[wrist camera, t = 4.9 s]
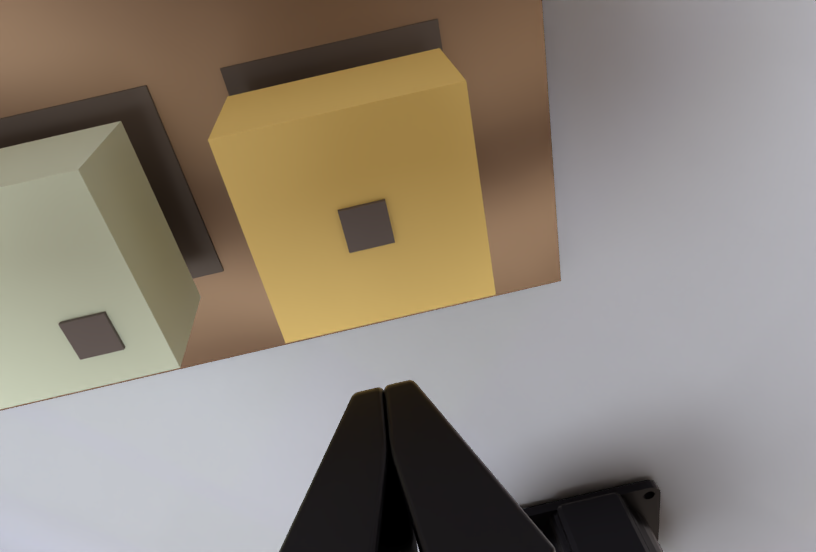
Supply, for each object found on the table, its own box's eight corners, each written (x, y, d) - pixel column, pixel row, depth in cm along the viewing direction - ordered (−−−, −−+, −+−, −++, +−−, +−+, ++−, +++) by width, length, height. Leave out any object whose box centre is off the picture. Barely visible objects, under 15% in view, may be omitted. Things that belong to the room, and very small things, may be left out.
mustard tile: (469, 235, 17) (496, 297, 14) (290, 276, 17) (285, 345, 14) (439, 48, 14) (467, 82, 12) (227, 96, 14) (206, 141, 12)
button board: (554, 271, 21) (561, 282, 20) (-203, 446, 21) (-218, 463, 20) (523, -156, 14) (532, -158, 14) (-574, 93, 14) (-614, 102, 14)
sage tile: (201, 296, 17) (179, 370, 14) (21, 338, 17) (-34, 419, 14) (121, 120, 14) (76, 171, 12) (-93, 169, 14) (-187, 231, 12)
